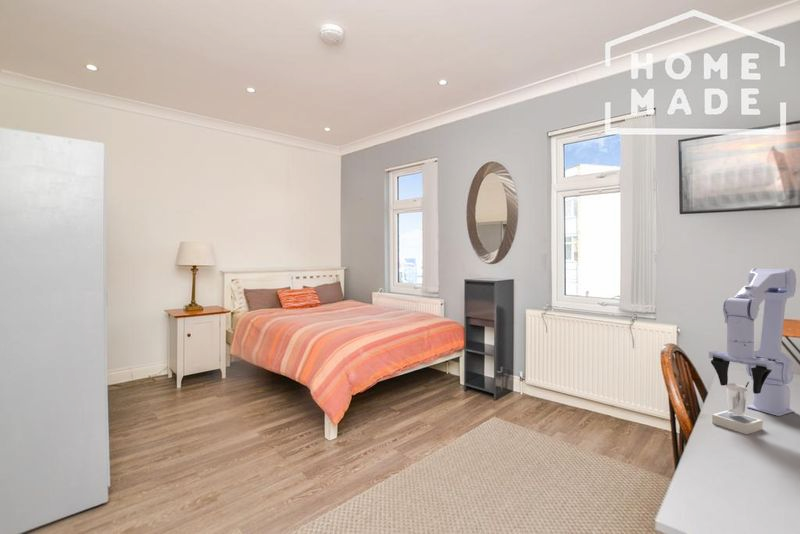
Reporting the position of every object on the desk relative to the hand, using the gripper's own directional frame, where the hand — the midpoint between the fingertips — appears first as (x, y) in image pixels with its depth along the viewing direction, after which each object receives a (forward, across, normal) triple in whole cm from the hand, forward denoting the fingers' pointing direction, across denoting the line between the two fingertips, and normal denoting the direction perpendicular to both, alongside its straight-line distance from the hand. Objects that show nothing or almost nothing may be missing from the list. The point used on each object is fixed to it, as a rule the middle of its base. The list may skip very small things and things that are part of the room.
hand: (739, 388), depth 109 cm
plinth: (+10, 0, -2) cm, 10 cm away
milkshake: (+8, 0, -1) cm, 8 cm away
